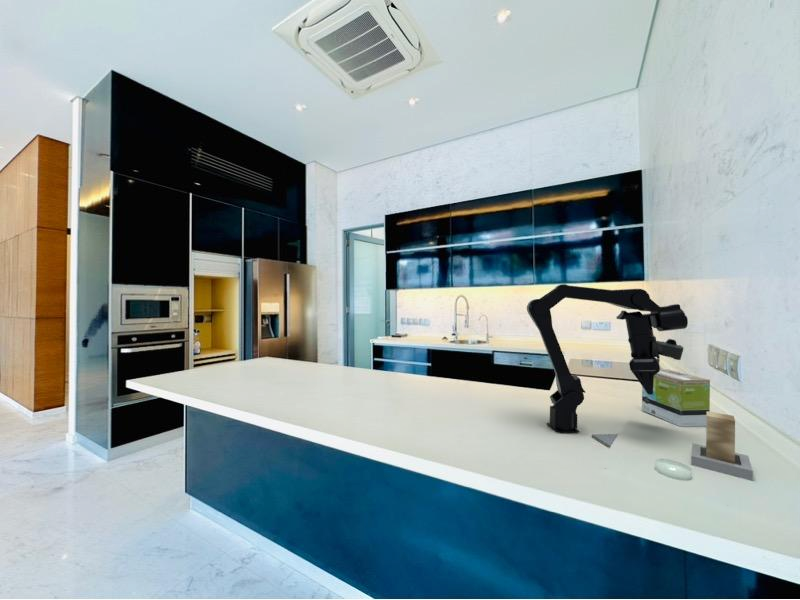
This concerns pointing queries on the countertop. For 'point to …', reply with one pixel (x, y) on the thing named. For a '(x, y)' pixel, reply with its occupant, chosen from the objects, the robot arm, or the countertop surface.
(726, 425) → the wooden block
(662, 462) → the pale grey oval lump
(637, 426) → the countertop surface
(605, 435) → the slate board
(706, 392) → the tea box
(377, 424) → the countertop surface
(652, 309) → the robot arm
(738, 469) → the stone holder
